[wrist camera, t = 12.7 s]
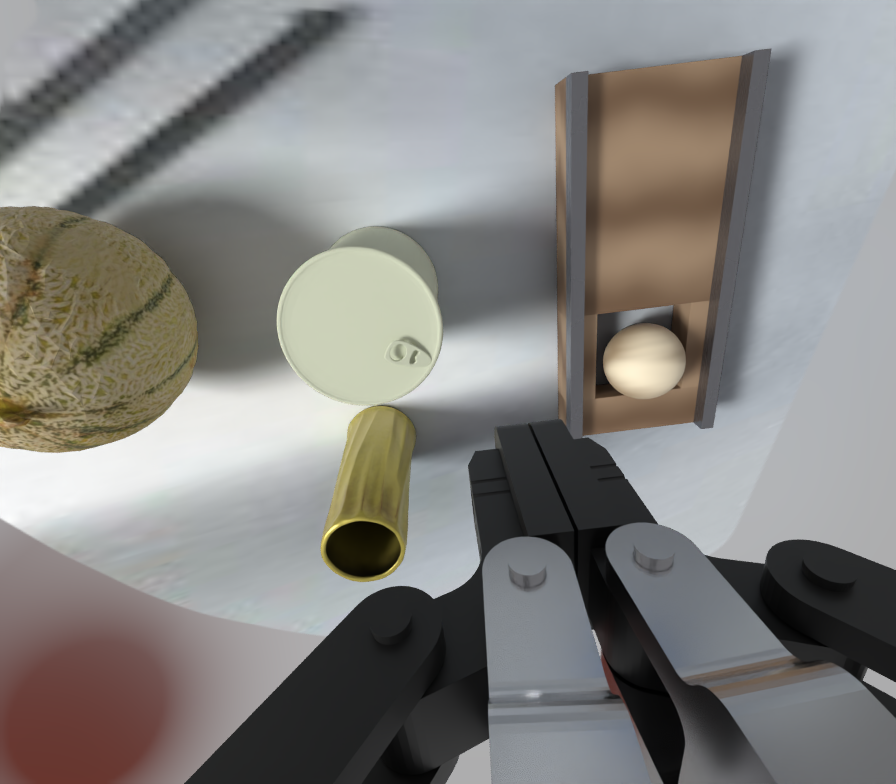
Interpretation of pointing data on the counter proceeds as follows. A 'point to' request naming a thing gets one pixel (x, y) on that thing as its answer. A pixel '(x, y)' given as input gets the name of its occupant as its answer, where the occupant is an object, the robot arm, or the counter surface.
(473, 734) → the robot arm
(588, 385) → the runway
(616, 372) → the ball
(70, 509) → the counter surface
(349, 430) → the vase
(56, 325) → the cantaloupe
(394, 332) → the can
